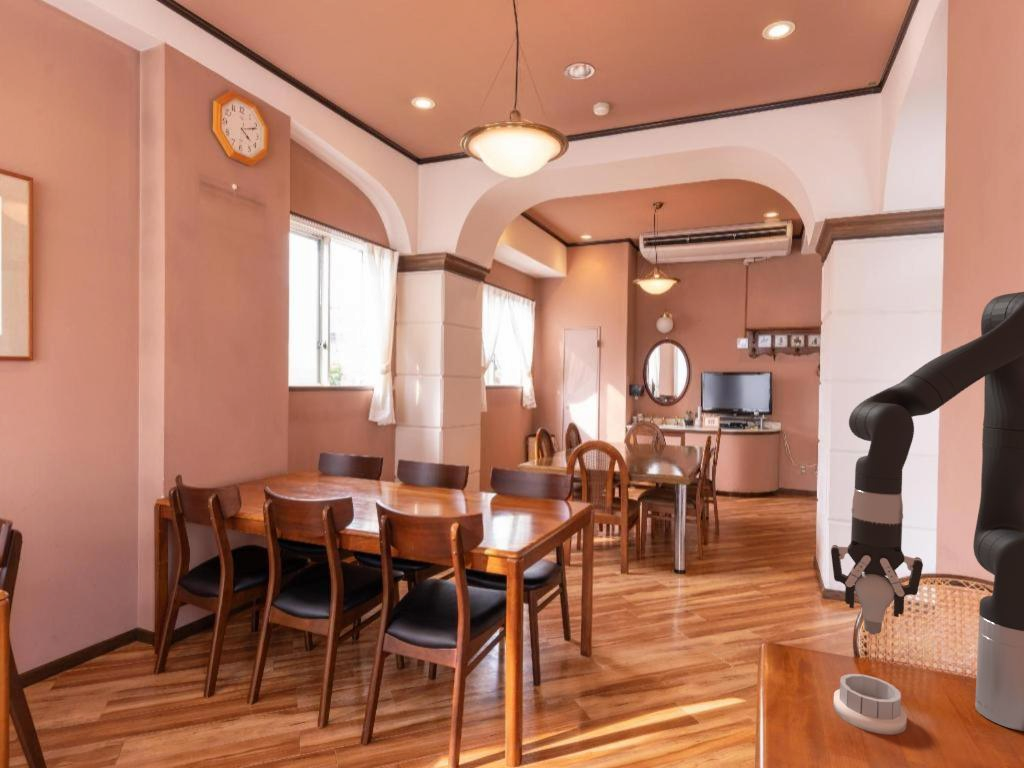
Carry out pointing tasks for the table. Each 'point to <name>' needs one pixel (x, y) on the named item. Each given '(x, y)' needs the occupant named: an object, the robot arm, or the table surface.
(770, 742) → the table surface
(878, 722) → the lamp base
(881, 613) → the lightbulb
